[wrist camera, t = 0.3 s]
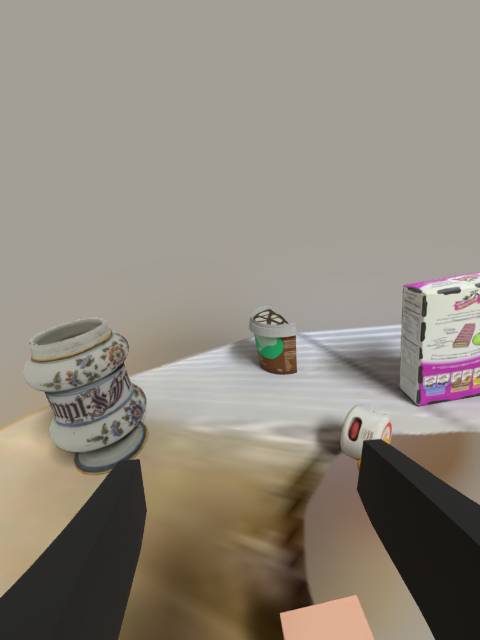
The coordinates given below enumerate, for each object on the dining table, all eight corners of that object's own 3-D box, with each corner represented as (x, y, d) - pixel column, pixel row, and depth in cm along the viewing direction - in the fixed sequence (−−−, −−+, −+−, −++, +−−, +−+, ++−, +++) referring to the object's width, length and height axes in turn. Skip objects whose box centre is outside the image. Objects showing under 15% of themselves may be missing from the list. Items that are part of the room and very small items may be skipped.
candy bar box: (466, 375, 46) (482, 270, 40) (495, 394, 41) (518, 278, 35) (395, 387, 45) (401, 283, 40) (416, 407, 41) (426, 292, 35)
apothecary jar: (109, 413, 49) (72, 312, 43) (171, 421, 45) (141, 310, 39) (44, 473, 39) (-17, 351, 33) (117, 491, 35) (64, 355, 28)
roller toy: (396, 446, 35) (399, 406, 33) (377, 485, 31) (379, 441, 29) (359, 432, 38) (359, 394, 36) (337, 465, 34) (336, 424, 32)
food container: (246, 355, 62) (239, 310, 58) (274, 348, 63) (269, 303, 60) (267, 386, 51) (260, 332, 47) (300, 376, 52) (296, 323, 48)
